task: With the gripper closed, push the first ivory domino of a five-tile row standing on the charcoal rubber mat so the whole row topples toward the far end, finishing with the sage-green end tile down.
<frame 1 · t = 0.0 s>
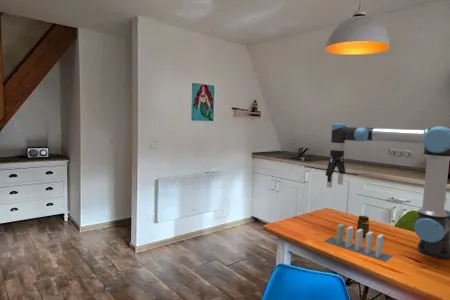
hand: (334, 185, 180), 28 cm above the table, fingers open, 13 cm apart
domino 5: (339, 243, 166), resting on mat
condiment: (361, 237, 176), on the table
mat: (356, 249, 159), on the table
domino 4: (348, 245, 162), resting on mat
domino 2: (368, 252, 155), resting on mat
domino 3: (358, 248, 159), resting on mat
domino 1: (378, 255, 151), resting on mat
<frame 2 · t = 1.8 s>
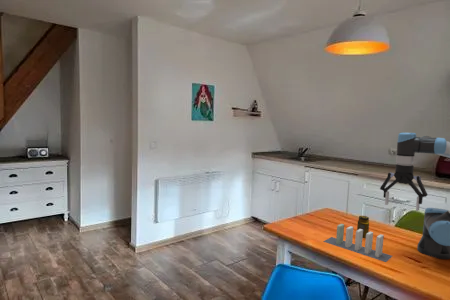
hand: (401, 207, 151), 25 cm above the table, fingers open, 13 cm apart
nothing on the table moved.
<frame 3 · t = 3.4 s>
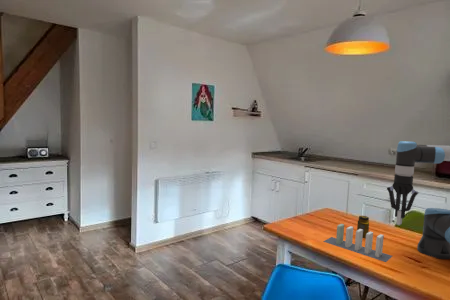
hand: (398, 224, 144), 18 cm above the table, fingers closed
nothing on the table moved.
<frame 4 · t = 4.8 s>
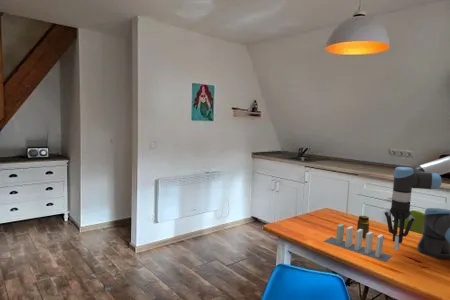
hand: (396, 248, 145), 6 cm above the table, fingers closed
nothing on the table moved.
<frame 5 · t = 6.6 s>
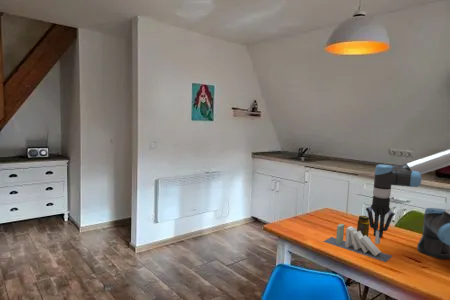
hand: (377, 243, 152), 6 cm above the table, fingers closed
domino 2: (367, 251, 155), point 1 cm above the table, tilted 37°, touching mat
domino 3: (358, 248, 159), point 1 cm above the table, tilted 20°, touching mat
domino 1: (377, 254, 152), point 1 cm above the table, tilted 51°, touching mat
everything else where it was.
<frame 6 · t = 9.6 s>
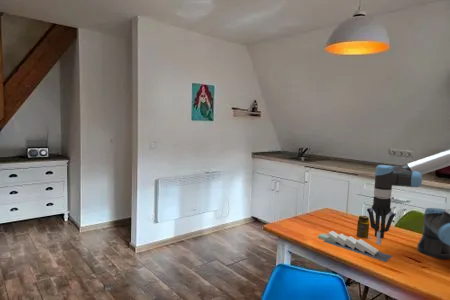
hand: (378, 243, 151), 6 cm above the table, fingers closed
domino 5: (337, 240, 166), point 1 cm above the table, tilted 90°, touching domino 4, mat
domino 4: (346, 243, 163), point 1 cm above the table, tilted 71°, touching domino 3, domino 5
domino 2: (366, 250, 156), point 1 cm above the table, tilted 71°, touching domino 1, domino 3, mat
domino 3: (356, 246, 159), point 1 cm above the table, tilted 72°, touching domino 2, domino 4, mat
domino 1: (376, 253, 152), point 1 cm above the table, tilted 71°, touching domino 2, mat
everything else where it was.
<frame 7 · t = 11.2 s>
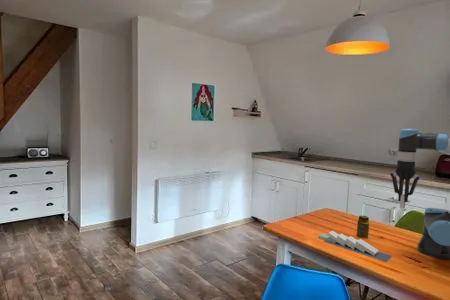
hand: (402, 207, 151), 24 cm above the table, fingers closed
domino 1: (376, 253, 152), point 1 cm above the table, tilted 71°, touching domino 2
everything else where it was.
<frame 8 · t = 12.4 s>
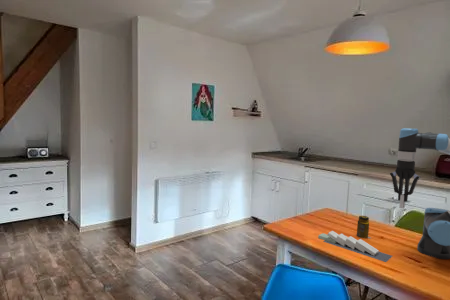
hand: (401, 207, 151), 24 cm above the table, fingers closed
nothing on the table moved.
at the end: domino 5 tilted 90°; domino 1 tilted 71° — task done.
